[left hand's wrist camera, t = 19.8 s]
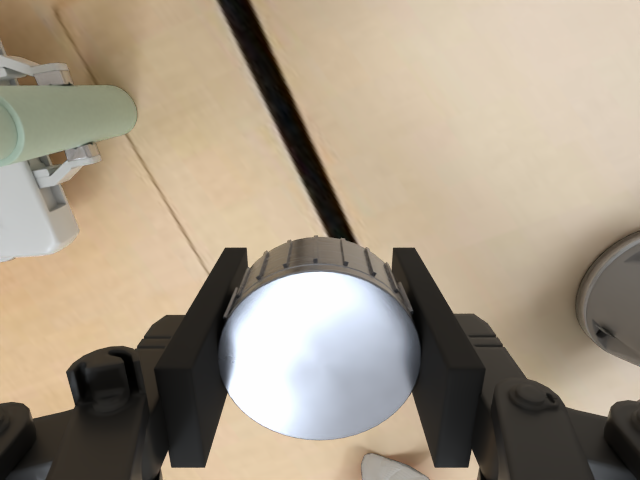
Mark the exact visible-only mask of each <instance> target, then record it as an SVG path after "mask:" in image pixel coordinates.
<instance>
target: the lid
mask: <svg viewBox="0 0 640 480" xmlns="http://www.w3.org/2000/svg"><path fill="white" fill-rule="evenodd" d="M412 314H414V311H413V309H412V306H411V304H410V302H409V299H408V297H407V295H406V292H405V290H404V287H403V285H402V283H401V282H399V283H398V281H397V279H396V277H395V276H394V274H393V273H392V271H391V268H390V266H389V264H388V263H387V262H386V263H384V262H383V261H382V260H381V259H379V258H378V257H377V256H376V255H375V254H373V253H372V252H370V249H369V248H367V247H366V248H363V247H361V246H359V245H357V244H354V243H351V242H348V241H345V239H344V238H341V239H336V238H328V237H318V235H317V236H314V237H312V238H303V239H298V240H294V241H291V240H288V241H287V243H285V244H282V245H280V246H278V247H276V248H274V249H272V250H271V251H269V252H268V251H265V252H264V254H263V256H262V257H261V258H260V259H258V260H257V261H256V262H255V263H254V264H253V265H252V267H251V268H249V267H247V269H246V271H245V273H244V275H243V278H242V280H241V283H240V285H239V288H237V287H235V290H234V292H233V295H232V297H231V299H230V302H229V304H228V306H227V309H226V311H225V314H224V316H223V319H222V320H225V322H224V324H223V327H222V329H221V333H220V336H219V340H218V347H217V351H218V361H219V370H220V377H221V379H222V382H223V385H224V387H225V389H226V390H227V392H228V394H229V396H230V397H231V398H232V400H233V401H234V403H235V404H236V405H237V406H238V407H239V408H240V409H241V410H242V411H243V412H244V413H245V414H246V415H248V416H249V417H250V418H251V419H253V420H254V421H256V422H257V423H259V424H260V425H262V426H264V427H266V428H268V429H270V430H272V431H275V432H277V433H280V434H283V435H286V436H290V437H294V438H300V439H307V440H333V439H339V438H345V437H349V436H353V435H356V434H359V433H362V432H364V431H367V430H369V429H371V428H373V427H375V426H377V425H379V424H380V423H382V422H383V421H385V420H386V419H388V418H389V417H390V416H391V415H393V414H394V413H395V412H396V411H397V410H398V409H399V408H400V407H401V406H402V405H403V404H404V403H405V401H406V400H407V398H408V397H409V396H410V394H411V392H412V390H413V388H414V387H415V385H416V382H417V379H418V376H419V373H420V366H421V357H422V347H421V340H420V336H419V333H418V330H417V327H416V324H415V322H414V319H413V317H412Z"/></svg>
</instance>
